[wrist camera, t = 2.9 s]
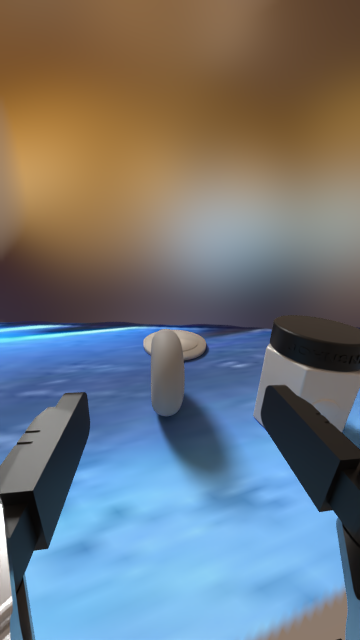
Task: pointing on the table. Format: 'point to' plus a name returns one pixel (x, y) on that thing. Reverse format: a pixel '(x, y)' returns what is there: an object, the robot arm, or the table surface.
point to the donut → (167, 372)
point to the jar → (314, 364)
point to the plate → (183, 344)
